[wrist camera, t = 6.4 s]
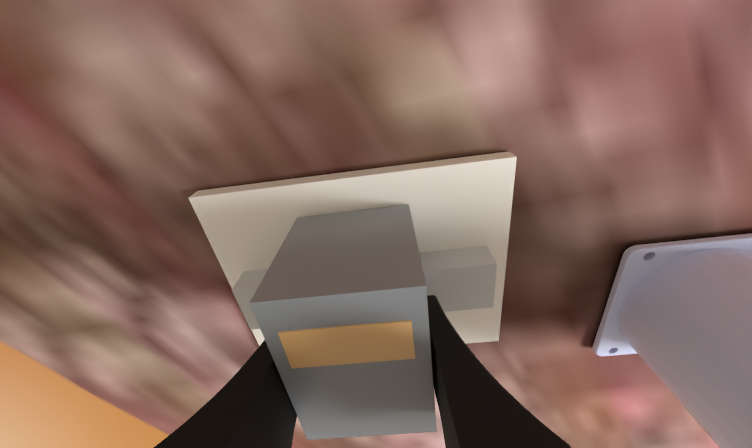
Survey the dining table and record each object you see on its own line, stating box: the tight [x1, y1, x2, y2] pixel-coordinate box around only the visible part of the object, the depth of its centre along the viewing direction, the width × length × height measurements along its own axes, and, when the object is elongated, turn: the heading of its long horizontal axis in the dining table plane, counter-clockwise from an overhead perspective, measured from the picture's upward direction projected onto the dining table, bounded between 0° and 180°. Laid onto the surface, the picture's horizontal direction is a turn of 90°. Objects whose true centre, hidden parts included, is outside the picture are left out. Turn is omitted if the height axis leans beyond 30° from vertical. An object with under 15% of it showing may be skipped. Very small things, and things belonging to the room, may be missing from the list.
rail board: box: [189, 151, 517, 346], centre depth 15 cm, size 14×11×2 cm
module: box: [250, 205, 437, 440], centre depth 12 cm, size 5×7×6 cm
